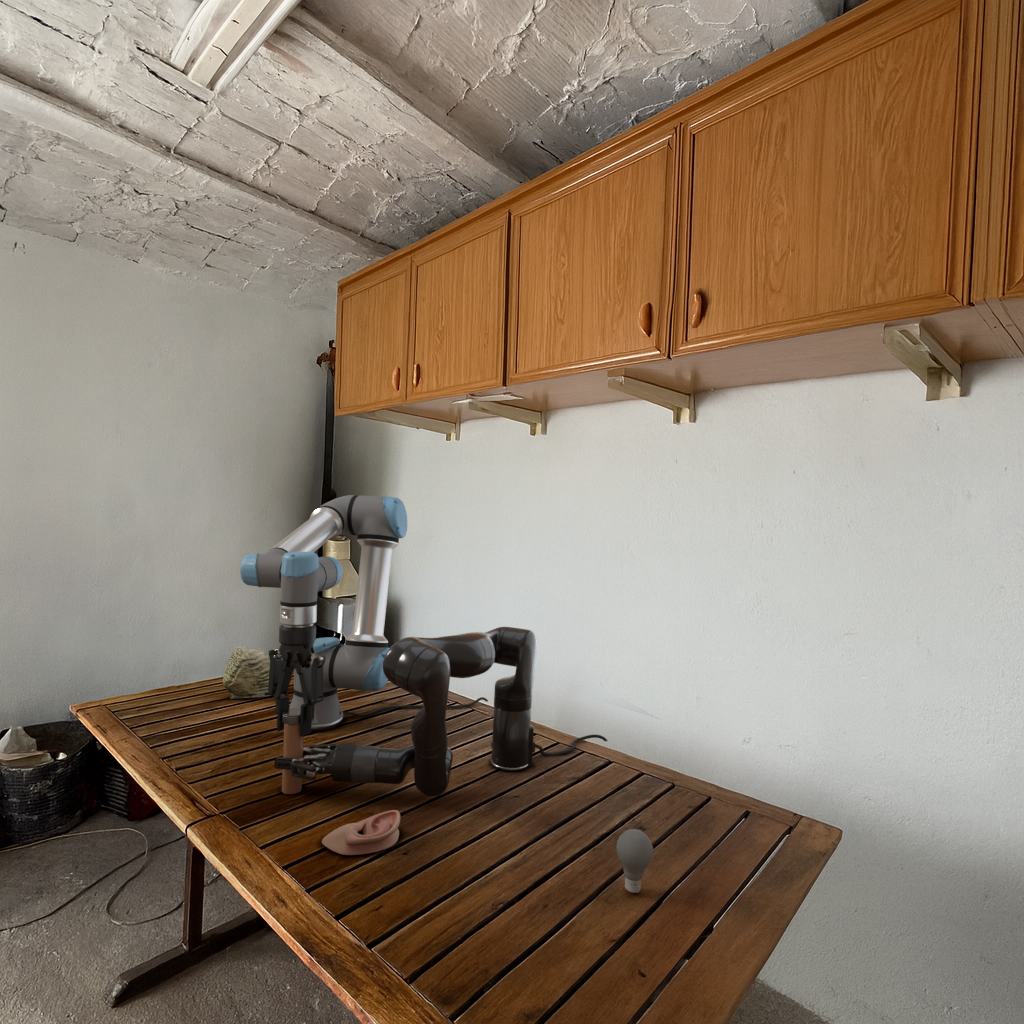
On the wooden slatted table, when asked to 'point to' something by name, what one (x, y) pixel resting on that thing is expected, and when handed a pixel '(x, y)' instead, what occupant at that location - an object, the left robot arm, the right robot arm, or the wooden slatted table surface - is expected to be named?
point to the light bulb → (634, 857)
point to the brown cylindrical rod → (292, 750)
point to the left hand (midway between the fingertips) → (293, 731)
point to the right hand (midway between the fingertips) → (280, 758)
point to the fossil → (247, 673)
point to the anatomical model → (365, 835)
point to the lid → (291, 716)
